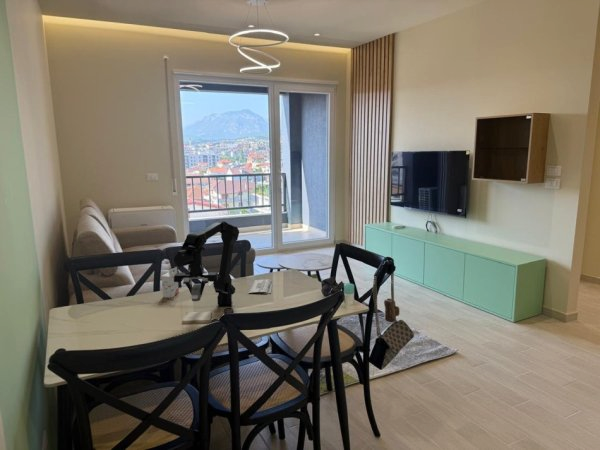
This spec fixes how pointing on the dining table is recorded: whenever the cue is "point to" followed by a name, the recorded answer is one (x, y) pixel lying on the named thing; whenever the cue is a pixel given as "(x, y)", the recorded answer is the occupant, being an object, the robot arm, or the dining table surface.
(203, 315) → the oak board
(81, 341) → the dining table surface
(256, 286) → the newspaper
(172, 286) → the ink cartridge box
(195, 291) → the connector
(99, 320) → the dining table surface
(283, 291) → the dining table surface
